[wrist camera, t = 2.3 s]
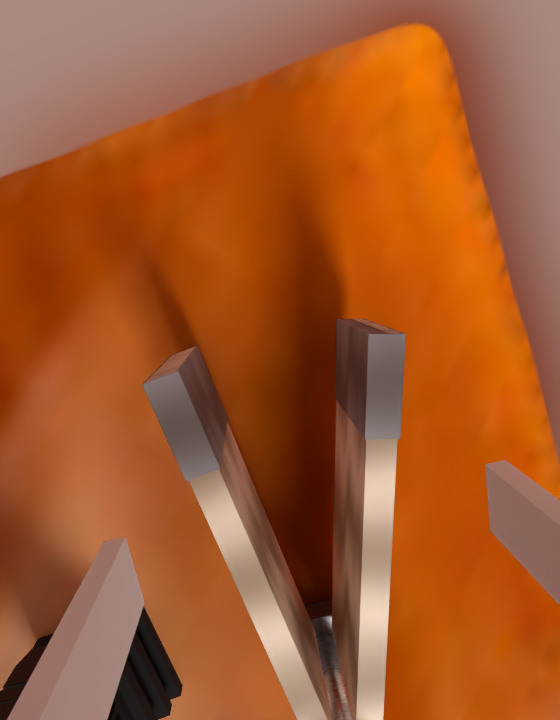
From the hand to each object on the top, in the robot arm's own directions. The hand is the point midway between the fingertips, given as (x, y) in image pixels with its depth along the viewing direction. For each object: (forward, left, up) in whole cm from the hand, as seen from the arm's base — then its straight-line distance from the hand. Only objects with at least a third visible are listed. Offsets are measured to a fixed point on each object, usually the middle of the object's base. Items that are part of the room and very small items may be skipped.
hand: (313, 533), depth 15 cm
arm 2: (-5, +3, -12) cm, 14 cm away
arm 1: (-5, -3, -12) cm, 14 cm away
